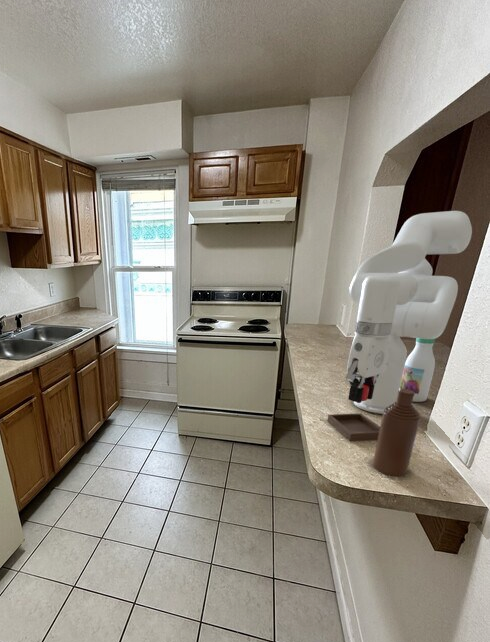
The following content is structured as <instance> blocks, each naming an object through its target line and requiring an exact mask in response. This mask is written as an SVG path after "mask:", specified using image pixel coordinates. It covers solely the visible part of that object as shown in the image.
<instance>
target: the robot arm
mask: <svg viewBox="0 0 490 642" xmlns="http://www.w3.org/2000/svg"><path fill="white" fill-rule="evenodd" d="M472 234H473V226H472V223H471V220H470V218H469V215H468V214H466V213H465V212H463V211H460V210H447V211H436V212H435V211H434V212H423V213H418V214H415V215H412V216H410V217H409V218H408V219H406V221H404V223H403V225H402V226H401V228H400V230H399V232H398V233H397V235H396V237H395V239H394V241H393V242H392V245H390V246H388V247H386V248H384V249H382V250H380V251H378V252H376V253H374V254H372V255H371V256H369V257H368V258H366V259H364V260H363V262H362V263H361V264H360V266H359V267H358V269H357V270H356V272H355V274H354V276H353V278H352V280H351V282H350V286H349V296H350V299H351V300H352V301H354V302H356V303H358V311H357V316H356V317H357V318H356V322H355V328H354V337H353V340H352V344H351V347H350V351H349V355H348V360H347V366H346V367H347V368H346V370H347V371H346V372H347V373H346V375H345V379H346V380H347V381H348V382H349V386H350V387H349V393H348V398H347V400H349V401H352V402H353V404H354V405H355V407H357V408H359V409H361V410H363V411H366V412H369V413H373V414H378V415H379V414H380V415H383V412H384V410H385V408H386V407H388V406H390V405H392V404H394V403H395V402H397V398H398V391H399V388H400V383H401V379H402V374H403V370H404V366H405V362H406V360H407V357H408V356H407V355H408V351H407V347H406V345H405V343H404V342H403V340H402V338H411V339H416V338H421V339H435V340H436V339H438V338H439V337H440V336H441V335H442V334H443V333H444V331H445V330H446V327H447V325H448V322H449V319H450V318H451V317H450V316H451V313H452V311H453V309H454V306H455V304H456V300H457V297H458V292H459V285H458V282H457V280H456V279H455V278H454V277H452V276H447V275H433V272H434V271H433V267H432V265H431V264H430V262H429V261H428V260H427V259H426V256H427V255H455V254H456V255H457V254H460V253H462V252H464V251H465V250H466V248H467V247H468V246H469V244H470V241H471V240H472ZM358 378H359V379H358ZM363 385H366V386H368V387H369V393H368V398H367V400H366V401H362V396H363V391H364V388H362V386H363Z"/></svg>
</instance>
